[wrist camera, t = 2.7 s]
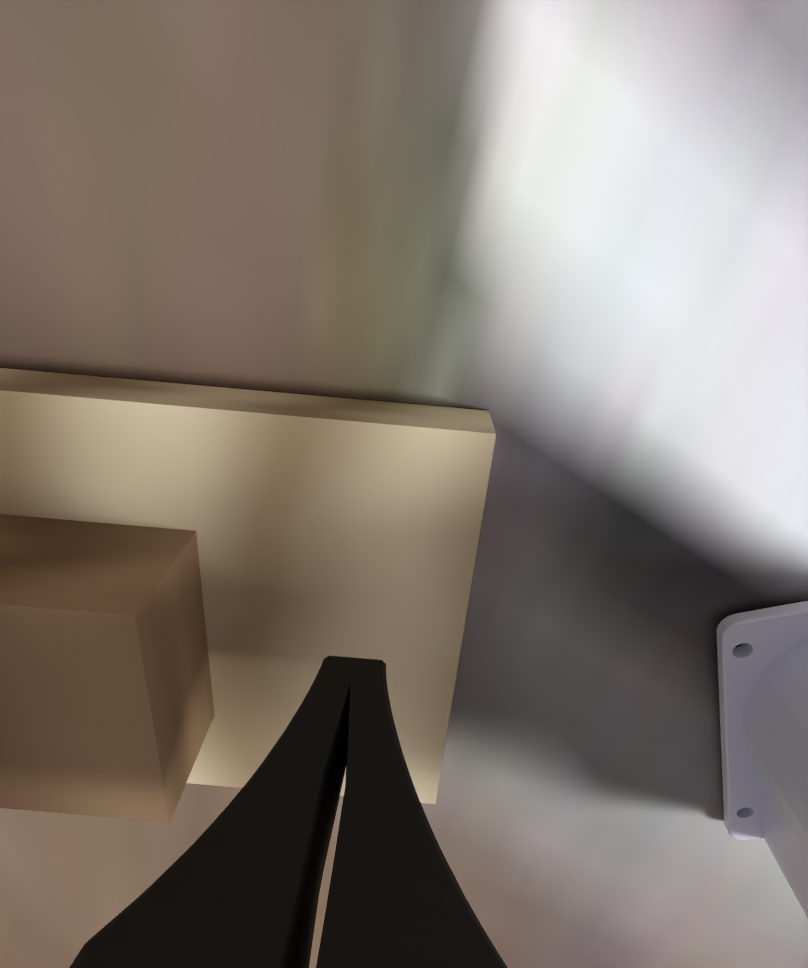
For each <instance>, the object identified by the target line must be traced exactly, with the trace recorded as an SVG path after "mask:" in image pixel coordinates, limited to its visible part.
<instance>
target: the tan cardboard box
mask: <svg viewBox="0 0 808 968" xmlns="http://www.w3.org/2000/svg"><path fill="white" fill-rule="evenodd" d="M213 718H214V706H213V696H212V686H211V676H210V666H209V656H208V646H207V636H206V626H205V616H204V606H203V595H202V585H201V575H200V565H199V555H198V545H197V535H196V531H190V530H178V529H167V528H155V527H144V526H132V525H121V524H109V523H98V522H86V521H75V520H63V519H52V518H40V517H28V516H17V515H5V514H0V808H9V809H21V810H33V811H45V812H57V813H69V814H80V815H92V816H104V817H116V818H128V819H140V820H152V821H164V822H170V820H171V818H172V816H173V813H174V811H175V808H176V806H177V804H178V801H179V799H180V796H181V794H182V792H183V789H184V787H185V785H186V782H187V780H188V777H189V775H190V773H191V770H192V768H193V766H194V763H195V761H196V758H197V756H198V754H199V751H200V749H201V746H202V744H203V742H204V739H205V737H206V735H207V732H208V730H209V727H210V725H211V723H212V720H213Z"/></svg>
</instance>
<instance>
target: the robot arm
mask: <svg viewBox="0 0 808 968" xmlns="http://www.w3.org/2000/svg"><path fill="white" fill-rule="evenodd" d="M742 643H743V644H742ZM739 644H742V645H741V646H739V647H736V646H737V645H739ZM735 647H736V648H735ZM717 655H718V680H719V704H720V729H721V754H722V778H723V803H724V824H725V826H726V828H727V830H728V832H729V834H730V836H731V837H733V838H735V839H738V840H749V839H757V838H764V839H765V841H766V842H767V844H768V846H769V848H770V850H771V852H772V853H773V855H774V857H775V859H776V861H777V863H778V864H779V866H780V868H781V870H782V872H783V874H784V875H785V877H786V879H787V881H788V883H789V885H790V887H791V888H792V890H793V892H794V894H795V896H796V898H797V899H798V901H799V903H800V905H801V907H802V909H803V910H804V912H805V914H806V916H807V918H808V601H803V602H797V603H792V604H786V605H781V606H775V607H770V608H764V609H759V610H753V611H747V612H742V613H736V614H733V615H730V616H727V617H726V618H724V619H723V620H722V621H721V622H720V623H719V625H718V627H717ZM345 769H346V782H345V791H344V798H343V805H342V811H341V818H340V825H339V831H338V838H337V844H336V851H335V857H334V863H333V870H332V876H331V882H330V888H329V894H328V901H327V907H326V913H325V919H324V925H323V931H322V937H321V943H320V948H319V954H318V960H317V966H316V968H507V966H506V965H505V963H504V961H503V960H502V958H501V957H500V955H499V954H498V952H497V950H496V949H495V947H494V946H493V944H492V942H491V941H490V939H489V937H488V936H487V934H486V932H485V931H484V929H483V927H482V926H481V924H480V922H479V920H478V919H477V917H476V915H475V913H474V912H473V910H472V908H471V906H470V905H469V903H468V901H467V899H466V898H465V896H464V894H463V892H462V890H461V888H460V886H459V884H458V882H457V880H456V878H455V876H454V874H453V872H452V870H451V868H450V867H449V865H448V863H447V861H446V859H445V857H444V855H443V853H442V851H441V849H440V847H439V844H438V842H437V840H436V838H435V836H434V833H433V831H432V829H431V827H430V825H429V822H428V820H427V817H426V815H425V813H424V810H423V808H422V805H421V803H420V800H419V798H418V795H417V793H416V790H415V787H414V785H413V782H412V779H411V776H410V773H409V770H408V767H407V764H406V761H405V758H404V755H403V752H402V749H401V745H400V742H399V738H398V734H397V731H396V727H395V723H394V719H393V715H392V710H391V705H390V700H389V695H388V688H387V679H386V664H385V663H384V662H383V661H382V660H377V659H365V658H353V657H341V656H327V657H326V658H324V659H323V662H322V665H321V667H320V669H319V671H318V674H317V676H316V678H315V680H314V682H313V684H312V686H311V687H310V689H309V691H308V693H307V695H306V696H305V698H304V700H303V702H302V704H301V705H300V707H299V708H298V710H297V712H296V713H295V715H294V716H293V718H292V720H291V721H290V723H289V725H288V726H287V728H286V729H285V731H284V732H283V734H282V735H281V737H280V738H279V740H278V741H277V742H276V744H275V745H274V747H273V748H272V750H271V751H270V752H269V754H268V755H267V757H266V758H265V759H264V761H263V762H262V764H261V765H260V766H259V768H258V769H257V770H256V772H255V773H254V774H253V776H252V777H251V778H250V779H249V781H248V782H247V783H246V784H245V786H244V787H243V788H242V789H241V791H240V792H239V793H238V794H237V795H236V797H235V798H234V799H233V800H232V802H231V803H230V804H229V805H228V806H227V807H226V808H225V810H224V811H223V812H222V813H221V814H220V815H219V816H218V817H217V819H216V820H215V821H214V822H213V823H212V824H211V825H210V826H209V828H208V829H207V830H206V831H205V832H204V833H203V834H202V835H201V836H200V837H199V838H198V839H197V841H196V842H195V843H194V844H193V845H192V846H191V847H190V848H189V849H188V850H187V851H186V852H185V853H184V854H183V855H182V856H181V857H180V858H179V859H178V860H177V861H176V862H175V863H174V864H173V865H172V866H171V867H170V868H168V869H167V870H166V871H165V872H164V873H163V874H162V875H161V876H160V877H159V878H158V879H157V880H156V881H155V882H154V883H153V884H152V885H151V886H150V887H149V888H148V889H147V890H146V891H145V892H144V893H142V894H141V895H140V896H139V897H138V898H137V899H136V900H135V901H134V902H132V903H131V904H130V905H129V906H128V907H127V908H126V909H124V910H123V911H122V912H121V913H120V914H119V915H117V916H116V917H115V918H114V919H113V920H112V921H111V922H109V923H108V924H107V925H106V926H105V927H104V928H103V929H101V930H100V931H99V932H98V933H97V934H96V935H94V936H93V937H92V938H91V939H90V940H89V941H88V942H87V943H86V944H85V945H84V946H83V948H82V949H81V951H80V952H79V954H78V955H77V957H76V958H75V960H74V962H73V963H72V965H71V966H70V968H309V962H310V955H311V947H312V940H313V933H314V926H315V919H316V911H317V904H318V897H319V891H320V886H321V880H322V875H323V870H324V865H325V861H326V856H327V851H328V847H329V842H330V838H331V833H332V829H333V824H334V820H335V815H336V811H337V806H338V802H339V797H340V792H341V788H342V783H343V779H344V774H345Z"/></svg>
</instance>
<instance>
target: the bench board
mask: <svg viewBox="0 0 808 968" xmlns="http://www.w3.org/2000/svg"><path fill="white" fill-rule="evenodd" d="M495 438H496V432H495V429H494V426H493V422H492V419H491V416H490V413H489V411H486V410H474V409H463V408H451V407H440V406H429V405H417V404H406V403H395V402H383V401H372V400H360V399H349V398H338V397H326V396H315V395H304V394H292V393H281V392H270V391H258V390H247V389H235V388H224V387H213V386H201V385H190V384H179V383H167V382H156V381H145V380H133V379H122V378H110V377H99V376H88V375H76V374H65V373H54V372H42V371H31V370H19V369H8V368H0V514H5V515H17V516H28V517H40V518H52V519H63V520H75V521H86V522H98V523H109V524H121V525H132V526H144V527H155V528H167V529H178V530H190V531H196V535H197V545H198V555H199V565H200V575H201V585H202V595H203V606H204V616H205V626H206V636H207V646H208V656H209V666H210V676H211V686H212V696H213V706H214V718H213V720H212V723H211V725H210V727H209V730H208V732H207V735H206V737H205V739H204V742H203V744H202V746H201V749H200V751H199V754H198V756H197V758H196V761H195V763H194V766H193V768H192V770H191V773H190V775H189V777H188V780H187V782H186V783H193V784H204V785H216V786H228V787H240V788H243V787H244V786H245V784H246V783H247V782H248V781H249V779H250V778H251V777H252V776H253V774H254V773H255V772H256V770H257V769H258V768H259V766H260V765H261V764H262V762H263V761H264V759H265V758H266V757H267V755H268V754H269V752H270V751H271V750H272V748H273V747H274V745H275V744H276V742H277V741H278V740H279V738H280V737H281V735H282V734H283V732H284V731H285V729H286V728H287V726H288V725H289V723H290V721H291V720H292V718H293V716H294V715H295V713H296V712H297V710H298V708H299V707H300V705H301V704H302V702H303V700H304V698H305V696H306V695H307V693H308V691H309V689H310V687H311V686H312V684H313V682H314V680H315V678H316V676H317V674H318V671H319V669H320V667H321V665H322V662H323V659H324V658H326V657H327V656H341V657H353V658H365V659H377V660H382V661H383V662H384V663H385V664H386V679H387V688H388V695H389V700H390V705H391V710H392V715H393V719H394V723H395V727H396V731H397V734H398V738H399V742H400V745H401V749H402V752H403V755H404V758H405V761H406V764H407V767H408V770H409V773H410V776H411V779H412V782H413V785H414V787H415V790H416V793H417V795H418V798H419V800H420V803H429V804H435V803H436V797H437V791H438V785H439V779H440V773H441V767H442V761H443V755H444V749H445V743H446V736H447V730H448V724H449V718H450V712H451V706H452V700H453V694H454V688H455V682H456V676H457V669H458V663H459V657H460V651H461V645H462V639H463V633H464V627H465V621H466V615H467V609H468V603H469V596H470V590H471V584H472V578H473V572H474V566H475V560H476V554H477V548H478V542H479V536H480V529H481V523H482V517H483V511H484V505H485V499H486V493H487V487H488V481H489V475H490V469H491V463H492V456H493V450H494V444H495ZM345 782H346V769H345V774H344V779H343V783H342V788H341V792H340V796H344V791H345Z"/></svg>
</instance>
